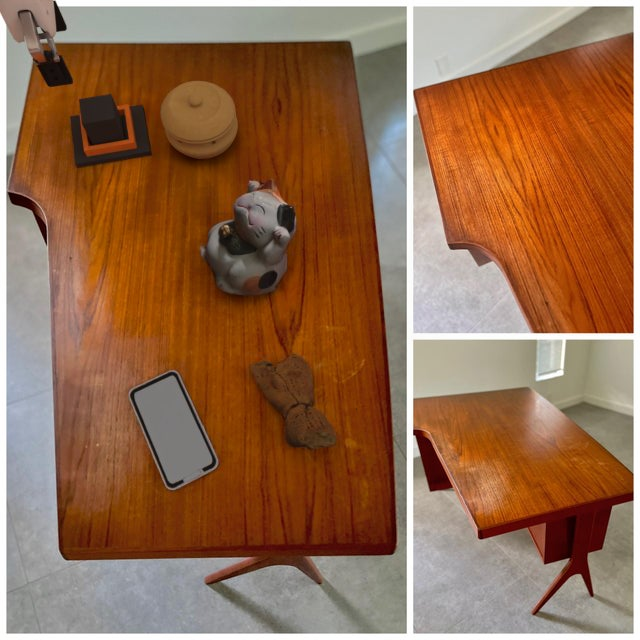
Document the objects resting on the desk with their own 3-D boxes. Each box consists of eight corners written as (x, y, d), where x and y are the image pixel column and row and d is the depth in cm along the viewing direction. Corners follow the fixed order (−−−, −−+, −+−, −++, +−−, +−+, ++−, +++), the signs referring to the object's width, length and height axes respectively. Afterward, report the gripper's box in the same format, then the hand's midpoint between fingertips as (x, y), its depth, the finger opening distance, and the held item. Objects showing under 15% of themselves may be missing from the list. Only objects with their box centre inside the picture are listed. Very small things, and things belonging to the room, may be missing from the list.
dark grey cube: (95, 149, 87) (81, 123, 81) (92, 125, 88) (78, 98, 83) (126, 144, 87) (114, 118, 82) (122, 120, 89) (111, 93, 83)
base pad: (77, 168, 86) (71, 158, 84) (72, 120, 90) (66, 109, 88) (151, 155, 88) (148, 144, 86) (143, 108, 91) (139, 97, 89)
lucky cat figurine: (193, 234, 83) (211, 156, 73) (265, 238, 88) (290, 166, 79) (213, 304, 74) (236, 225, 65) (292, 304, 80) (323, 231, 70)
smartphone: (176, 367, 74) (221, 465, 69) (177, 369, 75) (221, 466, 70) (125, 391, 73) (167, 493, 68) (127, 393, 73) (169, 493, 69)
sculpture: (291, 453, 60) (263, 333, 66) (269, 471, 69) (246, 364, 75) (355, 440, 64) (323, 327, 69) (326, 459, 72) (300, 357, 78)
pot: (237, 171, 87) (230, 128, 78) (165, 168, 87) (149, 125, 78) (242, 114, 92) (236, 68, 82) (174, 111, 91) (160, 64, 82)
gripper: (-49, -130, 57) (25, 15, 73) (-48, -22, 51) (32, 110, 67) (24, -137, 58) (81, 7, 74) (33, -32, 52) (93, 101, 68)
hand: (58, 56), depth 70 cm, fingers open, 9 cm apart
